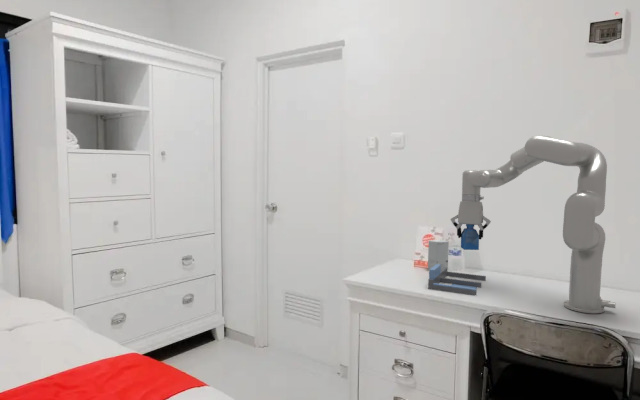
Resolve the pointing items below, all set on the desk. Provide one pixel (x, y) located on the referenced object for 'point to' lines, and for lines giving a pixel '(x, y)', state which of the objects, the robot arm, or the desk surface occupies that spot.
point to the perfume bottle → (469, 238)
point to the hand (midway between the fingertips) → (469, 238)
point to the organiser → (453, 281)
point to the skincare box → (438, 253)
